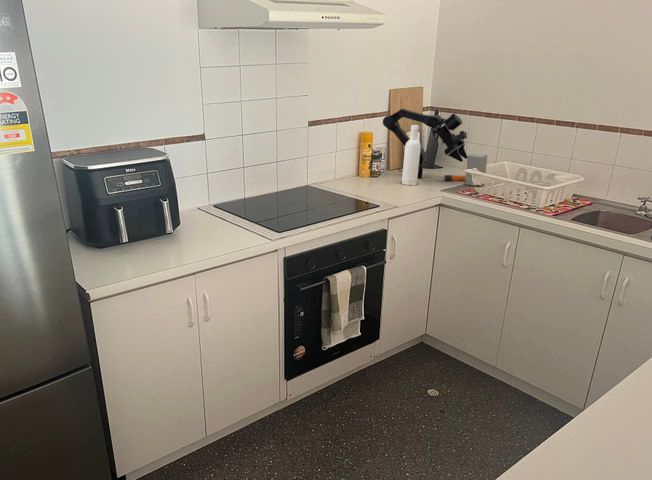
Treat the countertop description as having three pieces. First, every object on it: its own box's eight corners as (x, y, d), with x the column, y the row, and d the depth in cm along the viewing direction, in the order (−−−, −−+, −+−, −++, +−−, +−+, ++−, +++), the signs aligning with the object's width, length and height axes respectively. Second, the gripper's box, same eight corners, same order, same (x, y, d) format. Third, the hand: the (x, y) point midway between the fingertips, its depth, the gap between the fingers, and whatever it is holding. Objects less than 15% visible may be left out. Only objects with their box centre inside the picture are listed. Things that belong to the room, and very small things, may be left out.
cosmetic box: (484, 184, 289) (489, 154, 283) (478, 187, 284) (483, 156, 278) (469, 182, 294) (473, 152, 288) (463, 184, 290) (467, 154, 283)
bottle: (418, 185, 287) (424, 126, 275) (403, 185, 287) (408, 126, 275) (415, 181, 295) (421, 124, 283) (400, 181, 295) (405, 124, 283)
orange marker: (445, 181, 296) (446, 175, 295) (444, 179, 299) (444, 174, 297) (472, 181, 296) (473, 176, 295) (470, 179, 299) (471, 174, 297)
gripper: (453, 128, 276) (472, 153, 275) (463, 123, 291) (481, 147, 290) (436, 142, 283) (454, 166, 282) (446, 137, 298) (464, 160, 297)
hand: (464, 159), depth 288 cm, fingers open, 9 cm apart
